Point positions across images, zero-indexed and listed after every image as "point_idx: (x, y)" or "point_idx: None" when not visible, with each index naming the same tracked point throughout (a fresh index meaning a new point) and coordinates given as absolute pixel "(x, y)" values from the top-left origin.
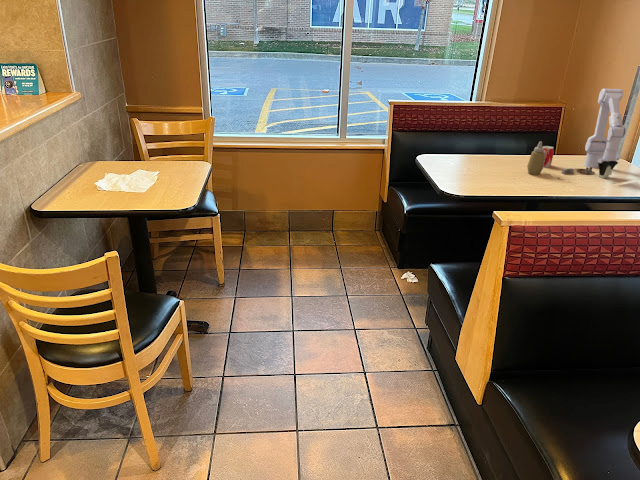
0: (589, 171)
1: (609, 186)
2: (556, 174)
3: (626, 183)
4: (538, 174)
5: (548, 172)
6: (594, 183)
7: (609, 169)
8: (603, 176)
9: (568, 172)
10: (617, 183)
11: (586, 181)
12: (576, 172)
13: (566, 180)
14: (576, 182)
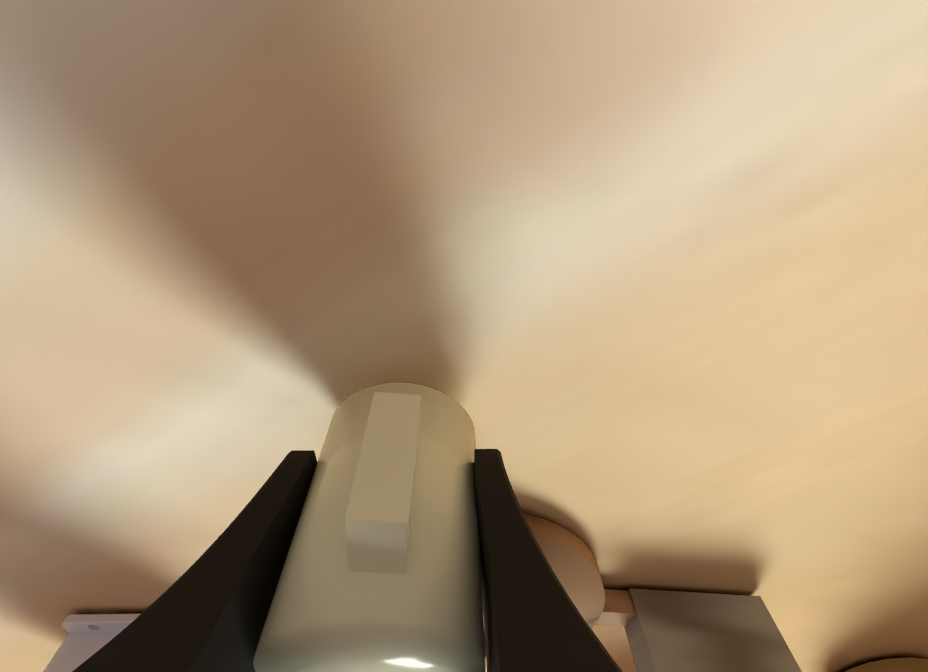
0: None
1: (723, 81)
2: None
3: (115, 63)
4: (902, 659)
5: None
6: (754, 330)
7: (407, 545)
8: (463, 432)
9: (716, 633)
10: (344, 159)
11: (743, 426)
12: None
13: (903, 519)
14: (912, 444)
